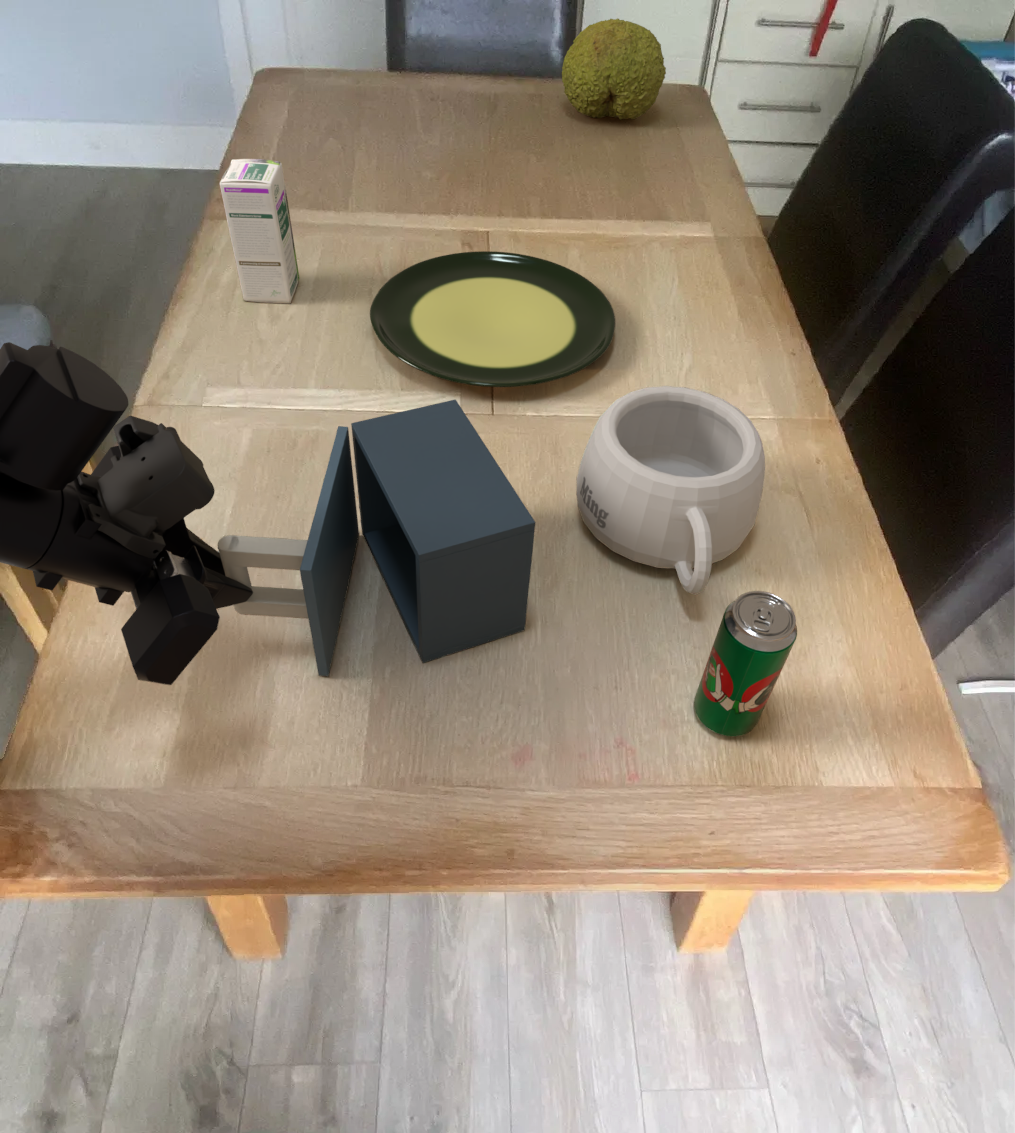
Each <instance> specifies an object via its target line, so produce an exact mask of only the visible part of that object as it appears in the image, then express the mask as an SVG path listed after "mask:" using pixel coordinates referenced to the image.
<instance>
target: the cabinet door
mask: <svg viewBox="0 0 1015 1133" xmlns="http://www.w3.org/2000/svg"><path fill="white" fill-rule="evenodd" d="M333 440H334V441H333V445H332V448H331V452H330V455H329V459H328V463H327V466H326V471H325V474H324V477H323V482H322V486H321V489H320V493H319V496H318V500H317V504H316V506H315V512H314V516H313V519H312V522H311V526H310V530H309V533H308V538H307V539H300V538H299V539H296V538H285V537H283V538H282V537H269V536H268V537H267V536H266V537H265V536H254V535H253V536H251V535H234V534H228V535H224V536H222V537H221V538H220V539H219V540H218V541H217V549H218V552H219V553H220V557H221V561H222V564H223V568H224V572H225V575H226V576H227V577H229V578H231V579H234V580H236V581H238V582H240V583H242V584H244V585H246V586H248V587H249V588H251V589H252V591H253V594H252V595H251V597H250V598H249V599H248V600H247V601H246V602H244V603H239V604H235V605H233V608H234V611H235V612H236V613H237V614H239V615H244V616H260V617H278V618H292V619H305V620H308V623H309V629H310V635H311V642H312V646H313V653H314V658H315V663H316V669H317V674H318V676H319V677H329V676H330V671H331V666H332V662H333V657H334V654H335V649H336V643H337V640H338V635H339V629H340V626H341V621H342V616H343V613H344V612H343V611H344V607H345V602H346V598H347V593H348V588H349V583H350V579H351V575H352V570H353V565H354V561H355V555H356V551H357V547H358V542H359V537H360V529H359V519H358V509H357V500H356V490H355V481H354V472H353V470H354V469H353V462H352V452H351V450H352V449H351V442H350V441H351V440H350V431H349V427H348V426H342V425H339V426H338V427H337V429H336V433H335V437H334V439H333ZM249 568H255V569H271V570H272V569H273V570H287V571H299V574H300V580H301V585H302V588H288V587H273V586H272V587H271V586H257V585H252V582H251V578H250V574H249Z"/></svg>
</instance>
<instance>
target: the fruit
mask: <svg viewBox="0 0 1015 1133" xmlns="http://www.w3.org/2000/svg"><path fill="white" fill-rule="evenodd" d="M664 60H665V57H664V55H663V51H662V44H661V43H660V42H659V41H658V39H657V36H655V34H654V33H653V32H652V31H651V29H647V27H645V26H643V25H641V24H638V23H634V22H633V21H629V20H625V19H620V18H618V17H617V18H615V19H614V18H610V19H604V20H600V21H597V22H595V23H593V24H589V25H588V26H586V27H585V28H584V29H583V30H581V31H580V32H579V33H578V35H577V36H575V38H574V39H573V41H572V44H571V45H570V46H569V48H568V50H567V51H566V54H565V56H564V58H563V62H562V67H561V69H562V71H561V82H562V83H563V87H564V91H563V93H564V94H565V96H566V97H567V100H568V101H569V103H570V104H571V106H572V107H573V108H575V110H576V111H577V112H578V113H580V114H581V115H585V116H588V117H590V118H594V119H595V118H596V119H602V118H605V117H613V118H618V119H619V121H620V120H628V119H631V120H636V119H637V118H639V117H641V116H643V115H646V114H647V111H648V110H650V109H651V107H652V106H653V105H654V104H655V103H656V101H657V98H658V96H659V93H660V90H661V88H662V87H663V86H662V85H663V84H664V80H665V79H666V76H665V75H666V74H667V72H666V70H667V67H665V64H664V63H665V61H664Z"/></svg>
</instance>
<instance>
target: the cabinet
mask: <svg viewBox="0 0 1015 1133" xmlns="http://www.w3.org/2000/svg"><path fill="white" fill-rule="evenodd" d="M350 425H351V426H350V427H351V433H352V434H351V436H352V437H351V438H352V447H353V456H354V467H355V477H356V485H357V486H356V487H357V496H358V497H357V498H358V506H359V514H360V515H359V517H360V527H361V535H362V537H363V539H364V541H365V543H366V546H367V547H368V549H369V552H370V554H371V556H372V558H373V560H374V562H375V565H376V567H377V569H378V571H379V574H380V575H381V577H382V579H383V581H384V584H385V586H386V588H387V590H388V593H389V594H390V597H391V599H392V601H393V603H394V605H395V607H396V610H397V611H398V614H399V616H400V618H401V620H402V622H403V625H404V627H405V628H406V631H407V633H408V635H409V637H410V640H411V641H412V644H413V646H414V648H415V650H416V652H417V655H418V657H419V658H420V660H421V662H422V664H425V663H427V662H428V663H429V662H431V661H434V660H437V659H440V658H444V657H446V656H450V655H453V654H456V653H458V652H463V651H465V650H468V649H472V648H474V647H477V646H480V645H481V646H482V645H485V644H487V643H490V642H493V641H496V640H499V639H502V638H506V637H508V636H513V635H515V634H518V633H522V632H524V631H525V630H526V621H527V612H528V601H529V594H530V583H531V574H532V573H531V571H532V561H533V553H534V552H533V551H534V541H535V531H536V521H535V519H534V518H533V516H532V514H531V513H530V511H529V510H528V508H527V507H526V505H525V504H524V502H523V500H522V499H521V498H520V496H519V495H518V493H517V492H516V490H515V488H514V486H513V485H512V483H511V482H510V481H509V479H508V478H507V476H506V474H505V473H504V472H503V469H502V468H501V467H500V465H499V463H498V462H497V461H496V458H494V456H493V455H492V453H491V452H490V450H489V448H488V446H487V445H486V444H485V442H484V441H483V439H482V438H481V436H480V434H479V433H478V432H477V430H476V428H475V427H474V425H473V424H472V422H471V421H470V419H469V417H468V416H467V414H466V413H465V411H464V410H463V409H462V407H461V405H460V404H459V402H458V401H457V399H451V400H447V401H446V400H445V401H442V402H438V403H433V404H429V405H425V406H420V407H416V408H412V409H411V408H410V409H408V410H403V411H398V412H395V413H394V412H393V413H390V414H385V415H381V416H376V417H371V418H368V419H364V420H363V419H362V420H359V421H354V422H351V423H350Z"/></svg>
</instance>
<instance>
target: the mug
mask: <svg viewBox="0 0 1015 1133" xmlns="http://www.w3.org/2000/svg"><path fill="white" fill-rule="evenodd" d="M765 476H766V455H765V450H764V446H763V441H762V439H761V436H760V433H759V431H758V430H757V428H756V426H755V424H754V423H753V422H752V420H751V419H750V418H749V416H747V415H746V414H745V413H744V412H743V411H742V410H741V409H739V408H738V407H737V406H735V405H734V404H732V403H730V402H729V401H727V400H725V399H724V398H721V397H719V396H718V395H717V396H716V395H714V394H712V393H710V392H706V391H703V390H699V389H695V388H690V387H686V386H674V385H659V386H658V385H657V386H648V387H644V388H639V389H636V390H633V391H630V392H628V393H626V394H624V395H622V396H620V397H618V398H617V399H615V400H614V401H613V403H611V404H610V405H609V406H608V407H607V408H606V409H605V410H604V412H603V413H601V414H600V416H599V417H598V418H597V421H596V423H595V425H594V427H593V430H592V431H591V434H590V436H589V437H588V441H587V443H586V445H585V448H584V451H583V454H582V456H581V459H580V462H579V466H578V470H577V475H576V501H577V508H578V510H579V514H580V515H581V516H580V517H581V519H582V522H583V523H584V525H585V526H586V527H587V528H588V530H589V531H590V532H591V534H592V535H593V537H594V538H595V539H597V540H598V541H599V542H600V543H602V544H603V545H604V546H605V547H607V548H608V549H609V550H610V551H612V552H613V553H615V554H618V555H620V556H622V557H624V558H626V559H629V561H630V560H631V561H633V562H635V563H639V564H643V565H646V566H651V567H654V568H661V569H675V571H676V574H677V577H678V580H679V582H680V585H681V587H682V588H683V590H684V591H685V592H687V593H690V594H691V595H698V594H700V593H702V592H704V591H705V589H706V588H707V585H708V583H709V580H710V576H711V572H712V564H714V563H717V562H720V561H722V560H724V559H726V558H727V557H729V556H730V555H731V554H733V553H734V552H735V551H737V550H738V549H739V548H740V547H741V546H742V544H743V542H744V541H745V539H746V538H747V537H748V535H749V534H750V532H751V531H752V529H753V528H754V526H755V525H756V521H757V518H758V514H759V509H760V506H761V502H762V495H763V490H764V484H765Z"/></svg>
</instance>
